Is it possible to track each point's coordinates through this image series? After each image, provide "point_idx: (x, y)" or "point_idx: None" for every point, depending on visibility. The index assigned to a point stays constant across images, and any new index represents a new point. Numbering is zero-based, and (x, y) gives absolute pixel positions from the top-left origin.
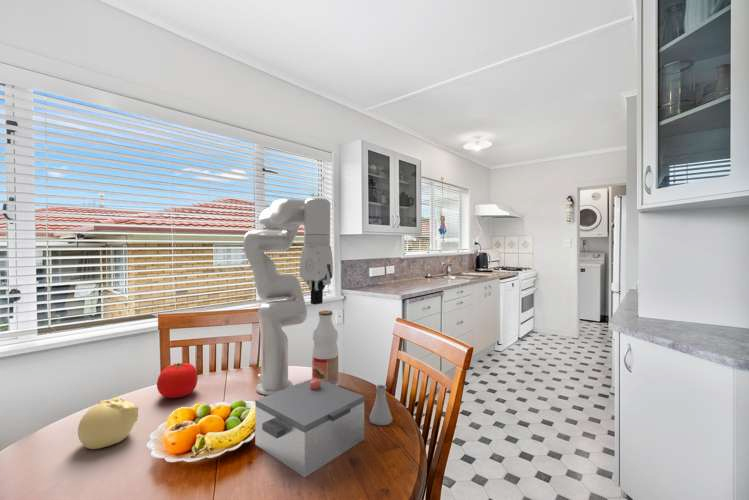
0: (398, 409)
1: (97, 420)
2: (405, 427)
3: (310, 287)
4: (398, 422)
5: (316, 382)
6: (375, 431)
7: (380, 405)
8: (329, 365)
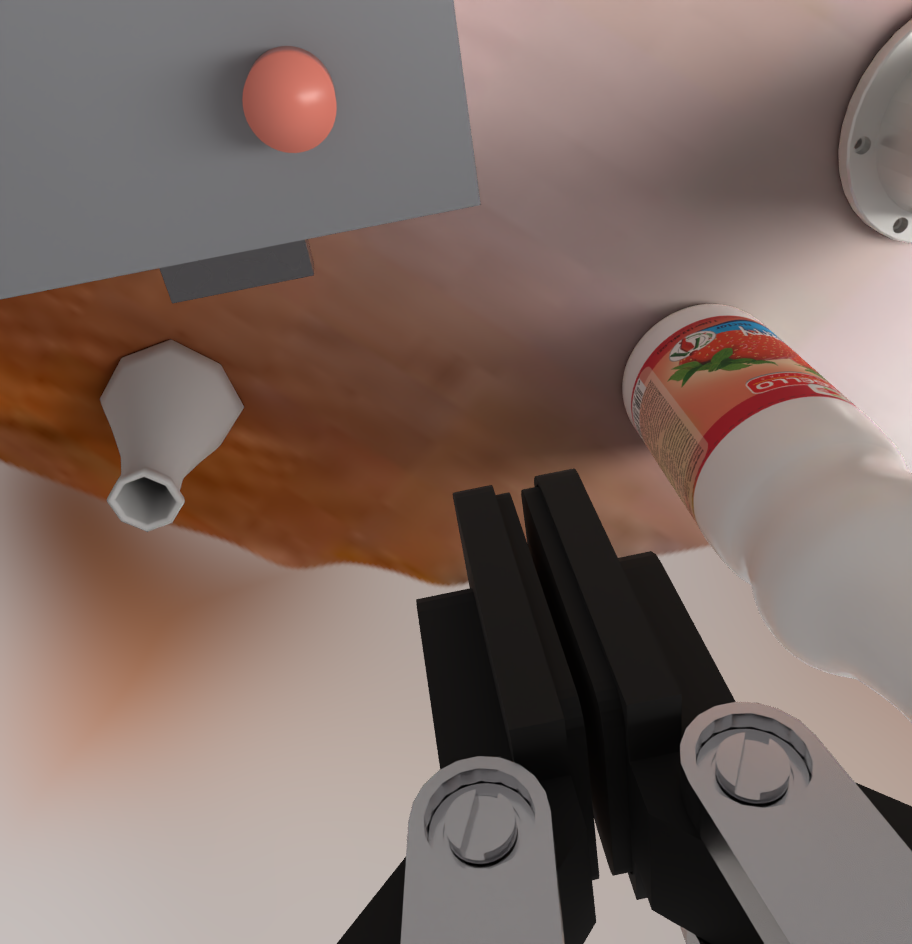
0: (220, 524)
1: None
2: (40, 448)
3: (774, 775)
4: (103, 451)
5: (252, 94)
6: (82, 312)
7: (128, 426)
8: (684, 442)
